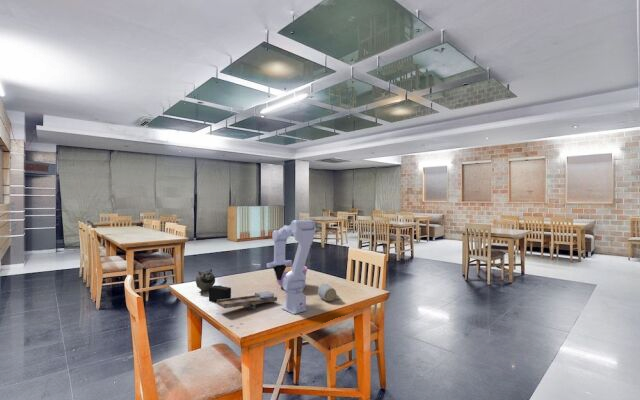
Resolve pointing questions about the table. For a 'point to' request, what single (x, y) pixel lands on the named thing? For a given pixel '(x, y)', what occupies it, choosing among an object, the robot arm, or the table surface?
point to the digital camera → (219, 293)
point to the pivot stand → (250, 307)
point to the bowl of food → (288, 269)
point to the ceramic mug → (327, 292)
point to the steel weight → (264, 295)
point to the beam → (243, 301)
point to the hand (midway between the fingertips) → (279, 279)
